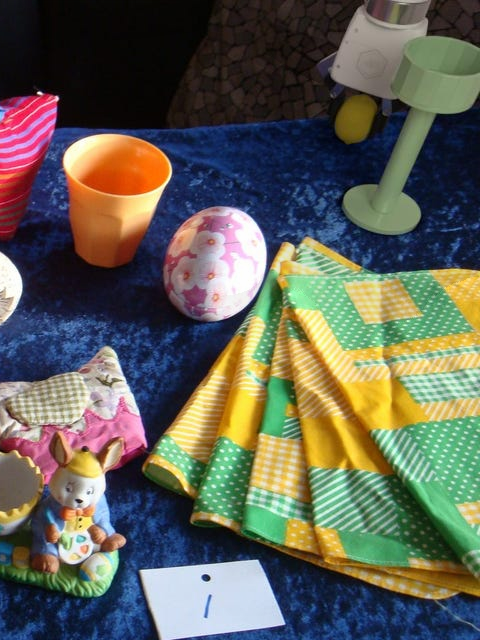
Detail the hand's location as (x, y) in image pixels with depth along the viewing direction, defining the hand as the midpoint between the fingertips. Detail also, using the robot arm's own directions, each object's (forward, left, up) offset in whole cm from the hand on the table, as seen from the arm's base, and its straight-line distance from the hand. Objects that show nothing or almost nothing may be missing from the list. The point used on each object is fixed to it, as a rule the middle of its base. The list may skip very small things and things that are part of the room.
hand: (353, 126), depth 122 cm
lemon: (0, 0, -3) cm, 3 cm away
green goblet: (-10, +13, -3) cm, 16 cm away
